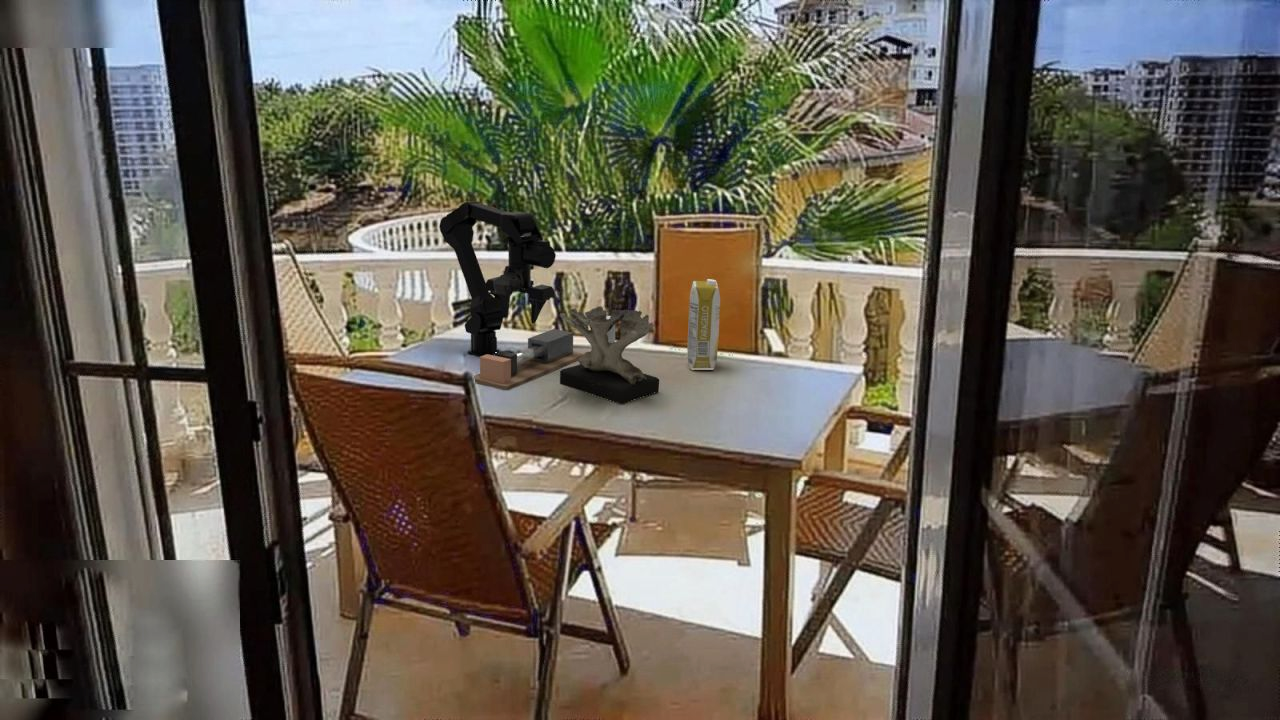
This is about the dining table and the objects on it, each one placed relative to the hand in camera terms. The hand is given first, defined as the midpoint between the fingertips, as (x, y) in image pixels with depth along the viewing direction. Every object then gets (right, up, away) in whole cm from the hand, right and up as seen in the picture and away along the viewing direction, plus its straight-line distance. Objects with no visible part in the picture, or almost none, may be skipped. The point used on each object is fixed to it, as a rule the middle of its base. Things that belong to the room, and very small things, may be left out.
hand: (519, 320), depth 269 cm
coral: (+23, -19, -17) cm, 34 cm away
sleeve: (+8, -11, +7) cm, 15 cm away
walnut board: (+3, -13, -1) cm, 13 cm away
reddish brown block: (-5, -15, -13) cm, 21 cm away
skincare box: (+22, -11, +10) cm, 26 cm away
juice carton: (+48, -12, +6) cm, 50 cm away
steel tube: (+1, -12, -4) cm, 13 cm away
